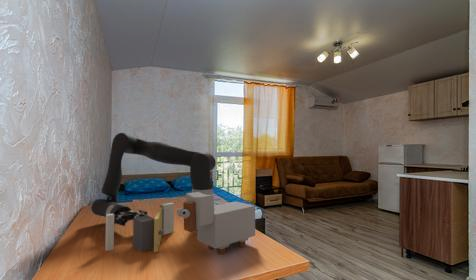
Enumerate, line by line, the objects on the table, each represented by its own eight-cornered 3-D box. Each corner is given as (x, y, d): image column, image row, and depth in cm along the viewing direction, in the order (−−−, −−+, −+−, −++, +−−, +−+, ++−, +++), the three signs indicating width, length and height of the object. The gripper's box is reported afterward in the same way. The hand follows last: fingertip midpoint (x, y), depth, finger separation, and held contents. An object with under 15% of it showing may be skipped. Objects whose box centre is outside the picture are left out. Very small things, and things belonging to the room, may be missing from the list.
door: (158, 235, 97) (159, 207, 98) (166, 234, 98) (166, 207, 98) (153, 252, 81) (154, 219, 81) (163, 251, 81) (163, 218, 82)
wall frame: (171, 231, 103) (171, 202, 104) (173, 232, 102) (174, 203, 102) (105, 249, 84) (105, 214, 84) (107, 251, 83) (108, 215, 83)
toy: (170, 257, 78) (171, 194, 78) (236, 237, 96) (235, 186, 97) (188, 269, 70) (188, 199, 70) (255, 244, 88) (255, 189, 89)
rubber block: (146, 242, 91) (146, 215, 91) (155, 247, 86) (155, 218, 86) (133, 246, 87) (133, 218, 87) (141, 251, 82) (142, 221, 83)
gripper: (100, 207, 99) (116, 214, 88) (135, 201, 109) (153, 207, 98) (100, 225, 98) (116, 235, 87) (134, 218, 109) (153, 226, 98)
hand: (135, 220), depth 93 cm, fingers open, 8 cm apart
